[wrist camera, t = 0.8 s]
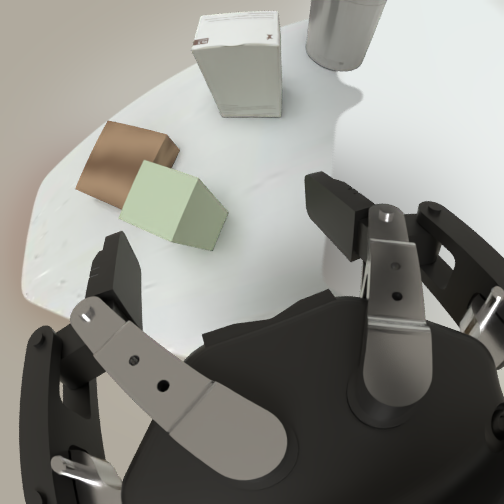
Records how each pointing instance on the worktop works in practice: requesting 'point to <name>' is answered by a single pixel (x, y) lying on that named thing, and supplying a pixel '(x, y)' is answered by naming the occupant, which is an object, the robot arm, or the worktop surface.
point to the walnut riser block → (123, 160)
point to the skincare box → (241, 62)
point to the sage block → (174, 207)
